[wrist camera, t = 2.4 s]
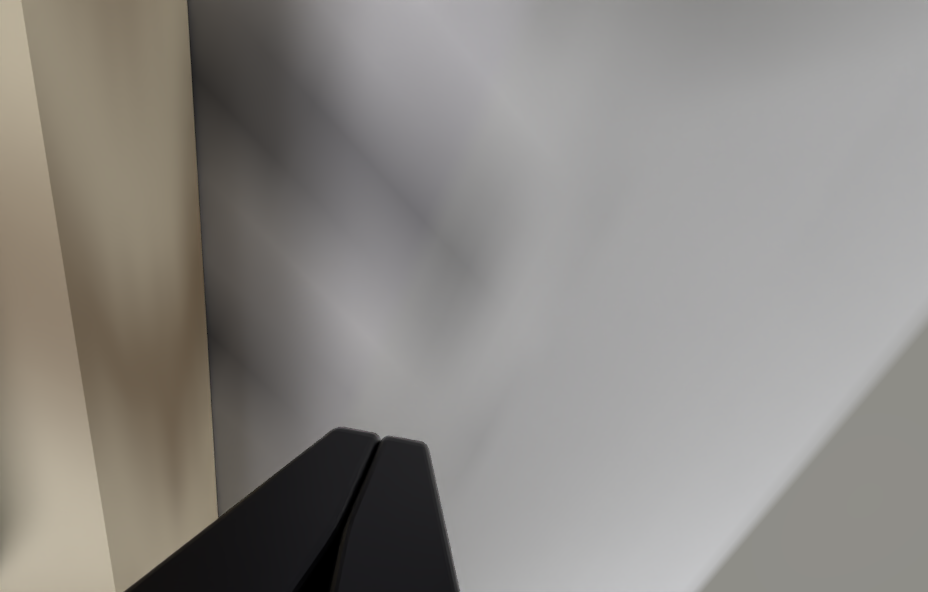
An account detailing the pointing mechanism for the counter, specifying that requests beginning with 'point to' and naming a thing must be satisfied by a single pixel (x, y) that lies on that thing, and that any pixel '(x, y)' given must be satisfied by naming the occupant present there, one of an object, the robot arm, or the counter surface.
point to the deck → (99, 296)
